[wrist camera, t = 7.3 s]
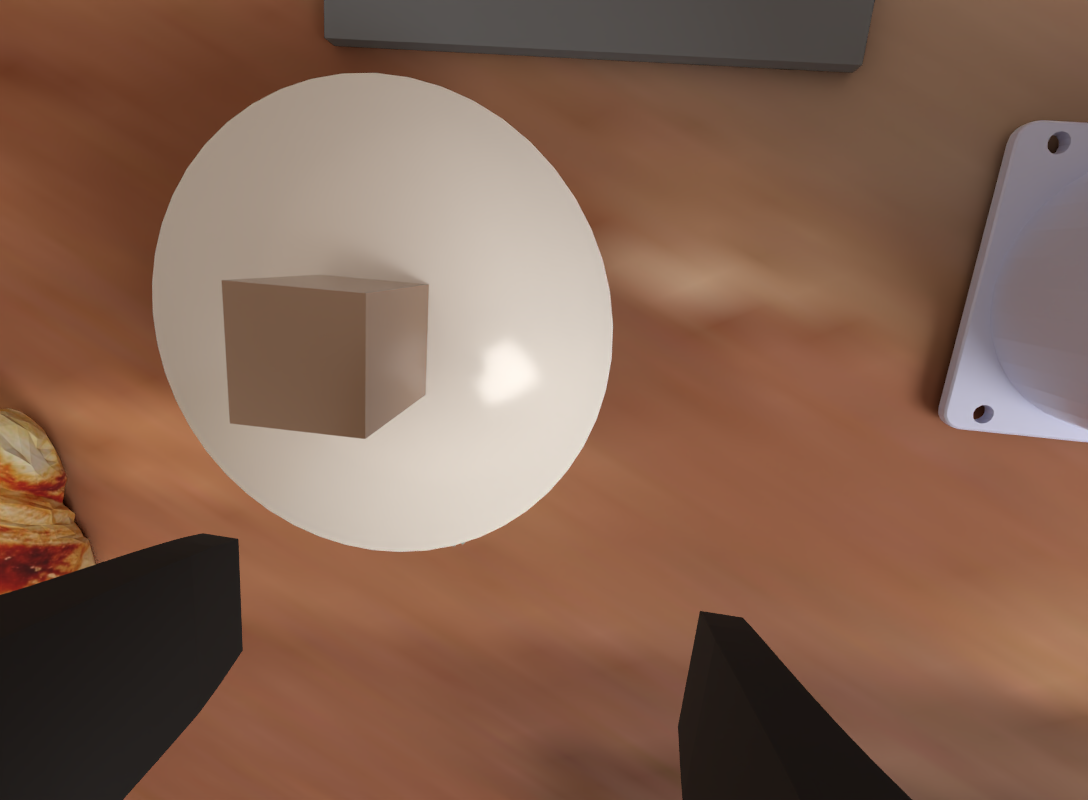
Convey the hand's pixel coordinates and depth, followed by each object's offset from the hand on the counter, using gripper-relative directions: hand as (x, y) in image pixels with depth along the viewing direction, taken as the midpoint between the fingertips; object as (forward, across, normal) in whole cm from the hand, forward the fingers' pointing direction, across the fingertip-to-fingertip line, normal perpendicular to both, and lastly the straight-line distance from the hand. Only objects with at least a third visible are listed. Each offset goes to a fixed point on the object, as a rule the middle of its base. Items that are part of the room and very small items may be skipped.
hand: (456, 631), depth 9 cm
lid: (+6, +4, -3) cm, 8 cm away
